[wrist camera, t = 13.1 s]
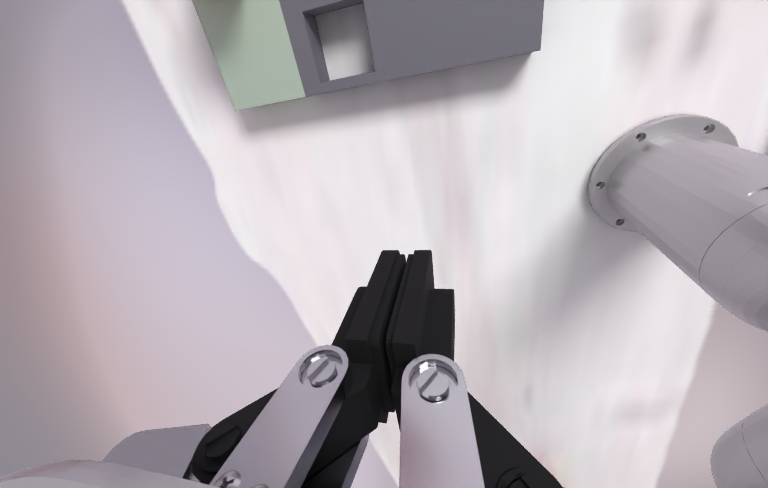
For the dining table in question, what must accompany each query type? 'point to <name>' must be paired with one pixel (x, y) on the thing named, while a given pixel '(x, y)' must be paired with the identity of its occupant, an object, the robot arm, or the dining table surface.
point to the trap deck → (386, 32)
